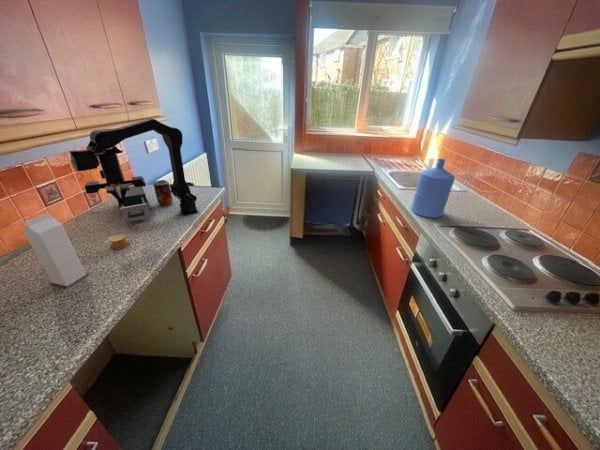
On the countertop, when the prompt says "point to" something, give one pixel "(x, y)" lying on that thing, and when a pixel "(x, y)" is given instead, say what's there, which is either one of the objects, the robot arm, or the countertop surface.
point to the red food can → (163, 192)
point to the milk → (54, 249)
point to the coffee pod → (118, 241)
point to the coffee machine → (133, 193)
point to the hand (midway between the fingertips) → (123, 204)
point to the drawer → (135, 209)
